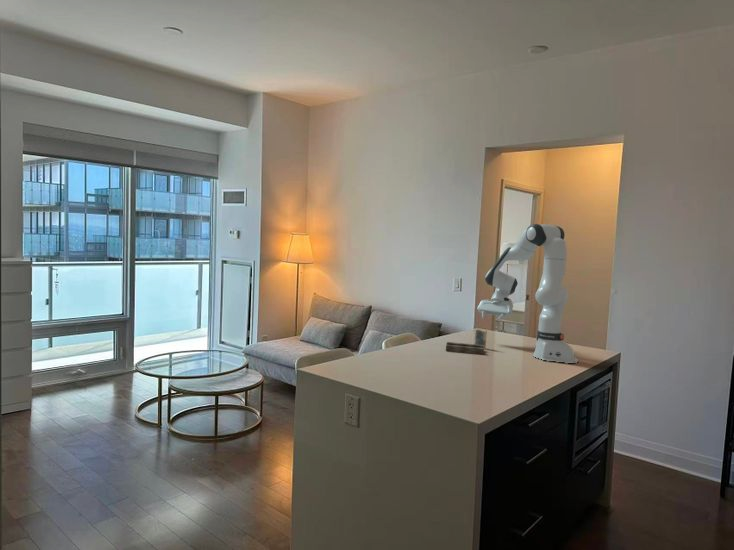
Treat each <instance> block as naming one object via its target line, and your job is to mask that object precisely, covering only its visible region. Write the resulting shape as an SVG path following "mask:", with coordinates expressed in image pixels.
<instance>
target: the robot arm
mask: <svg viewBox="0 0 734 550" xmlns="http://www.w3.org/2000/svg"><path fill="white" fill-rule="evenodd" d="M564 239H565V231H564V229H563V228H562V227H561V226H557V225H552V224H548V223H547V224H546V223H544V224H543V223H542V224H541V223H533V224H531V225H528V227H526V228H525V229H524V230H523V232H522V233H521V235H520V236H519V238H518V240H517V241H516V243H515V244H514V245H513V246H511V247H507V248H506V249H505V250H504V251H503V252H502V254H501V255H500V257H498V259H497V260H496V262H495V264H493V266H492V267H491V268H490V269H489V270H488V271H487V273H486V274H485V276H484V281H485V282H486V284H487V285H489V286H492V287H494V288H495V289H494V290H495V291H494V292H493V294H492V296H491V298H490V299H485V298H484V299H482V300H481V301H480V302H479V304H478V306H477V308H476V309H477V312H478V313H479V314H481V319H482V320H485V319H486V315H492V316H497V317H496V321H497V322H501V320H502V319H503V318H505V317H507V318H510V317H512V314H513V311H514V310H513V308H514V304H513V301H512V299H511V298H510V297H509V296H511V295H513V294H514V293H515V291H516V287H517V286H518V283H519V282H518V280H517V278H516V277H514V276H512V275H510V274H507V273H506V272H503V271H501V268H502V267H503V266H504V264H505V263H506V262H508V261H521V262H522V261H526V260H527V261H528V260H529V259H531V258H532V257H533V255H534V253H535V252H536V250H537V248H538V247H541V246H542V247H543V248H544V254H543V267H542V274H541V278H540V282H539V285H538V288H537V290H536V292H535V295H534V297H535V301H536V302H537V303H538V305H541V306H542V309H541V312H540V313H539V317H538V329H537V331H536V345H535V349H534V352H533V355H532V357H533V356H534V357H533V358H535V357H536V358H535V359H538V358H539V360H541V359H542V360H541V361H543V360H547V361H546V362H549V361H557V362H556V363H558V362H565V363H564V364H568V363H576V364H578V363H577V362H579V359H578V358H577V357H575V352H574V350H573V347H572V346H570V345H569V344H568V343H567V342H566V341H565V340H564V339H565V335H564V333H562V332H561V327H562V325H561V324H562V317H563V313H564V310H565V307H566V306H565V305H566V302H567V300H568V298H569V291H568V290H567V288H566V287H565V286H562V284H563V283H562V282H563V279H564V277H565V275H566V268H567V266H566V265H567V244H566V243H567V242H566V241H565V240H564ZM485 314H486V315H485Z"/></svg>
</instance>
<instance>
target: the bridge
mask: <svg viewBox="0 0 734 550" xmlns="http://www.w3.org/2000/svg"><path fill="white" fill-rule="evenodd" d="M445 351H446V352H450V351H452V352H453V353H461V352H462V354H463V353H465V354H472V353H473V354H475V355H484V354H485V349H484V345H475V343H474V344H472V343H461V342H452V341H447V342H446V345H445ZM452 352H451V353H452Z"/></svg>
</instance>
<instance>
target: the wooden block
mask: <svg viewBox="0 0 734 550" xmlns="http://www.w3.org/2000/svg"><path fill="white" fill-rule="evenodd" d="M487 332H488V331H487V330H483V329H475V336H474V344H475V345H484V350H485V349H486V347H487Z"/></svg>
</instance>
